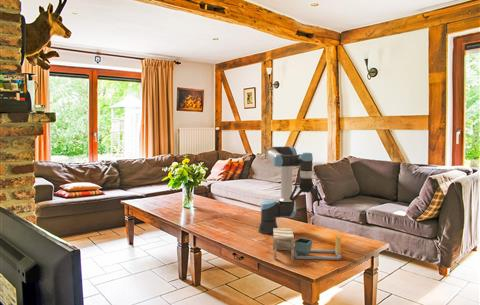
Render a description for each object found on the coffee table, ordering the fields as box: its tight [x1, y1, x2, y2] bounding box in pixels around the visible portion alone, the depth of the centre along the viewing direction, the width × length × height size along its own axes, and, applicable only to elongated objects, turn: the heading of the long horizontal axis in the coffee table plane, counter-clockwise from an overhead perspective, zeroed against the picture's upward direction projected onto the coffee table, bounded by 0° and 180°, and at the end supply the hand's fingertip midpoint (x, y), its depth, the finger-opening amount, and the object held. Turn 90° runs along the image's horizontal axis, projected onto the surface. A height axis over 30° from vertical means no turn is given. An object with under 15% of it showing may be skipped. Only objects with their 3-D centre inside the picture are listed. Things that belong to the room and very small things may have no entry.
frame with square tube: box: [294, 234, 342, 261], centre depth 222 cm, size 14×28×12 cm, turn 86°
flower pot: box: [294, 237, 313, 256], centre depth 223 cm, size 9×9×9 cm
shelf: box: [272, 227, 295, 261], centre depth 224 cm, size 19×12×14 cm, turn 176°
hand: (305, 211), depth 225 cm, fingers open, 13 cm apart
